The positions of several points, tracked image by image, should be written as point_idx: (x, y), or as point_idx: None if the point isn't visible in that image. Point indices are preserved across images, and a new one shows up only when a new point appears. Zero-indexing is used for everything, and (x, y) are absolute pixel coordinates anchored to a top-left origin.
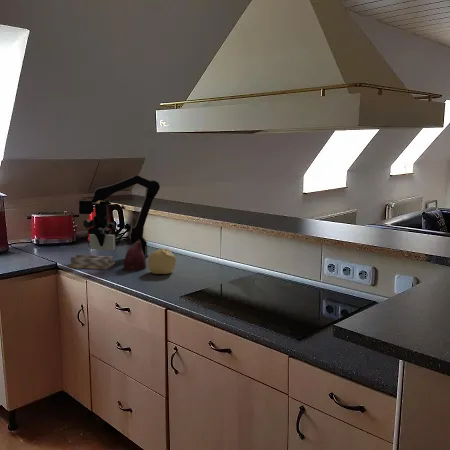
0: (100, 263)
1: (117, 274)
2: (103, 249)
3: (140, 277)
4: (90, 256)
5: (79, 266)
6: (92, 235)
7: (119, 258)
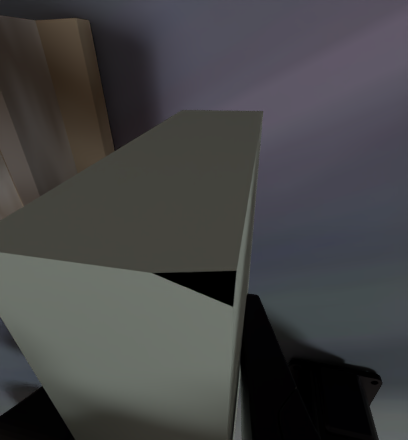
0: None
1: (7, 333)
2: (191, 281)
3: (25, 385)
4: (24, 199)
5: None
6: (41, 331)
7: (293, 298)
